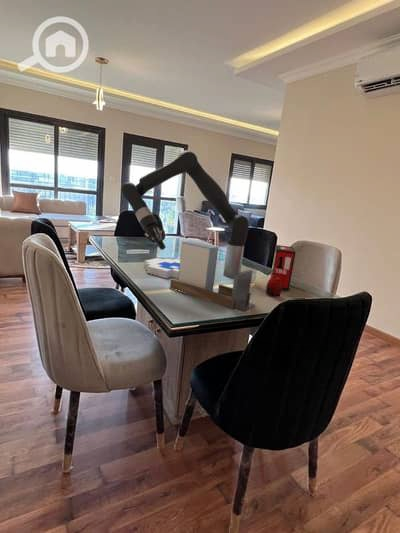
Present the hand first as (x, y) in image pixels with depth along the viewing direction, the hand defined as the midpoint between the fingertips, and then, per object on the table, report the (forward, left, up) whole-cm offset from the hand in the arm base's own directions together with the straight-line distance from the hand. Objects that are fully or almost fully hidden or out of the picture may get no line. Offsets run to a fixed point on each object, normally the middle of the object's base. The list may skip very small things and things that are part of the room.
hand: (163, 248), depth 148 cm
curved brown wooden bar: (0, +27, -15) cm, 31 cm away
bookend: (+1, +45, -15) cm, 47 cm away
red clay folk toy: (-25, +47, -15) cm, 55 cm away
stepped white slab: (-18, -8, -16) cm, 25 cm away
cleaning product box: (-44, +43, -15) cm, 63 cm away
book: (0, +20, -15) cm, 25 cm away
